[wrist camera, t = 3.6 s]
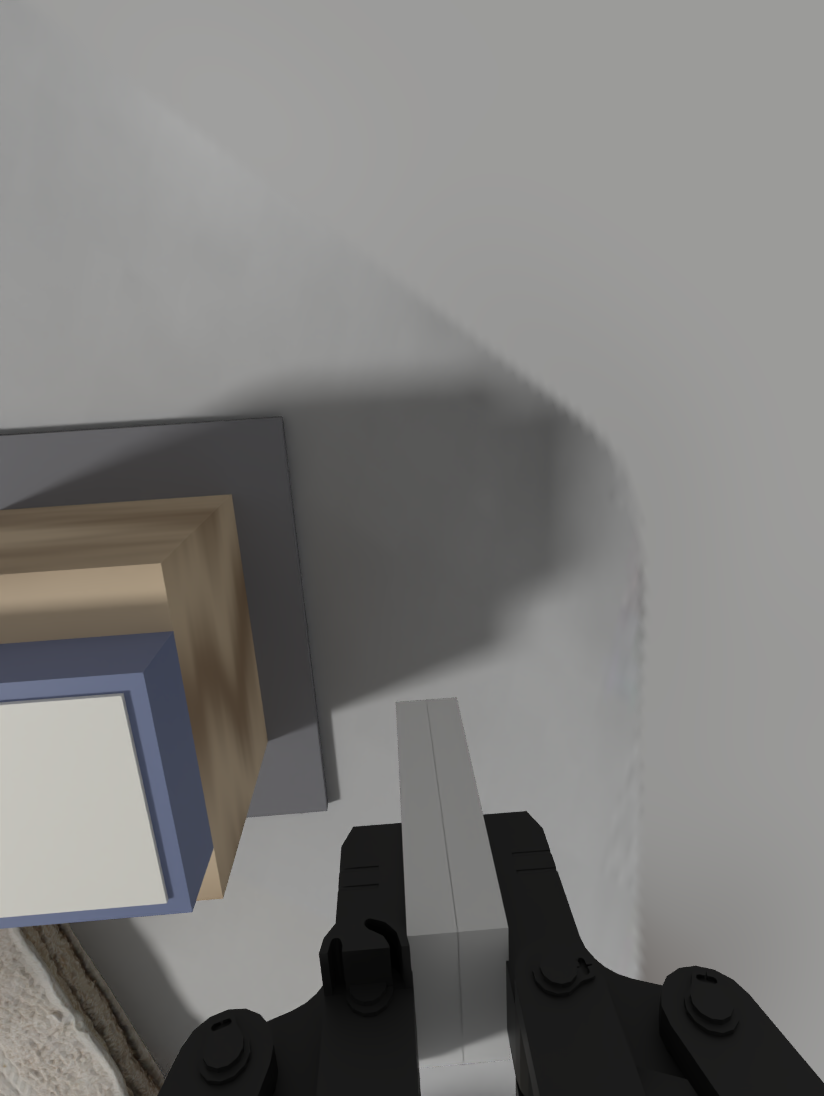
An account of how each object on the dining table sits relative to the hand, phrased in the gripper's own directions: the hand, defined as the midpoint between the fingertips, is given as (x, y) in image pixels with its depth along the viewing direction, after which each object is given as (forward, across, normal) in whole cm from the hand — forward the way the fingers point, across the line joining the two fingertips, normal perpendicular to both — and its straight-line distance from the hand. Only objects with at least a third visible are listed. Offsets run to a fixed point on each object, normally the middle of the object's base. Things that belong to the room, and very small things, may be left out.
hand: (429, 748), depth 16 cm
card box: (+1, +10, 0) cm, 11 cm away
